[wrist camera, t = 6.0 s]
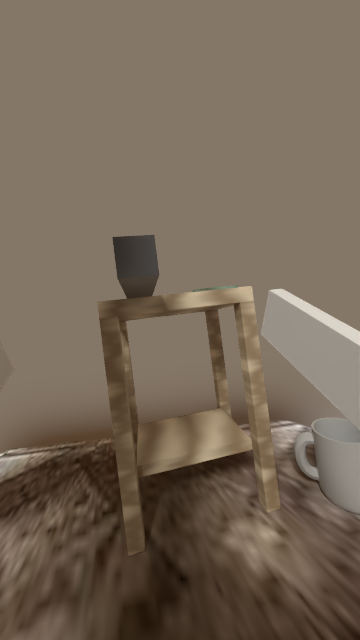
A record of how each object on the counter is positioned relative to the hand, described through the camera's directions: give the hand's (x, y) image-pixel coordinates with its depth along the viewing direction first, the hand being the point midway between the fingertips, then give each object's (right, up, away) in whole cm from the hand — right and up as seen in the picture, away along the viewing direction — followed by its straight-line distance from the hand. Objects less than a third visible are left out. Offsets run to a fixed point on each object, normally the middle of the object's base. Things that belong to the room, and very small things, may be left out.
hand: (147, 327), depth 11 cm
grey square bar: (-4, +3, +18) cm, 18 cm away
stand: (+4, -26, +24) cm, 36 cm away
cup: (+24, -24, +20) cm, 39 cm away
